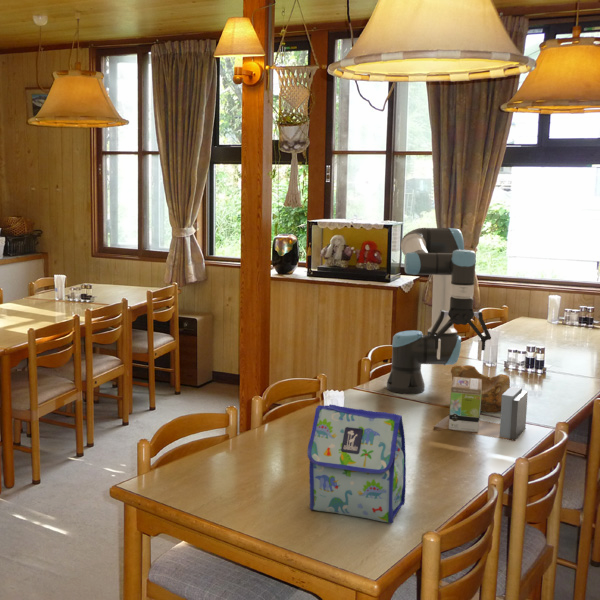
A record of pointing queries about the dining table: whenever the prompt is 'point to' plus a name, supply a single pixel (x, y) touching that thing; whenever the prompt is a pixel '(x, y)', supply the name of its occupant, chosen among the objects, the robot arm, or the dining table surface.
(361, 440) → the lunch bag
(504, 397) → the grey upright block
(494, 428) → the shelf board
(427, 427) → the dining table surface
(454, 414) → the tea box
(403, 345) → the robot arm
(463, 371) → the rough brown rock
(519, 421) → the gray square slab
